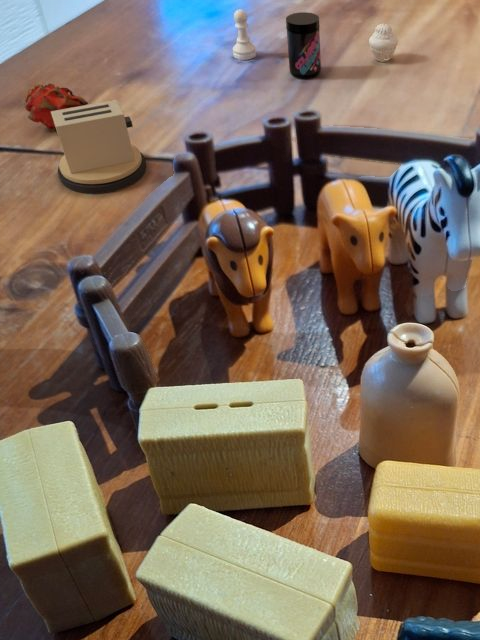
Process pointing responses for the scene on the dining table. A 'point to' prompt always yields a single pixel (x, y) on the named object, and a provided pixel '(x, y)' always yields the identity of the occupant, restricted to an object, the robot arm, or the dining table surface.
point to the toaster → (95, 143)
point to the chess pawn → (242, 38)
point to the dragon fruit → (49, 103)
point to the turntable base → (105, 186)
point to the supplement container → (303, 44)
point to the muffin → (383, 42)
